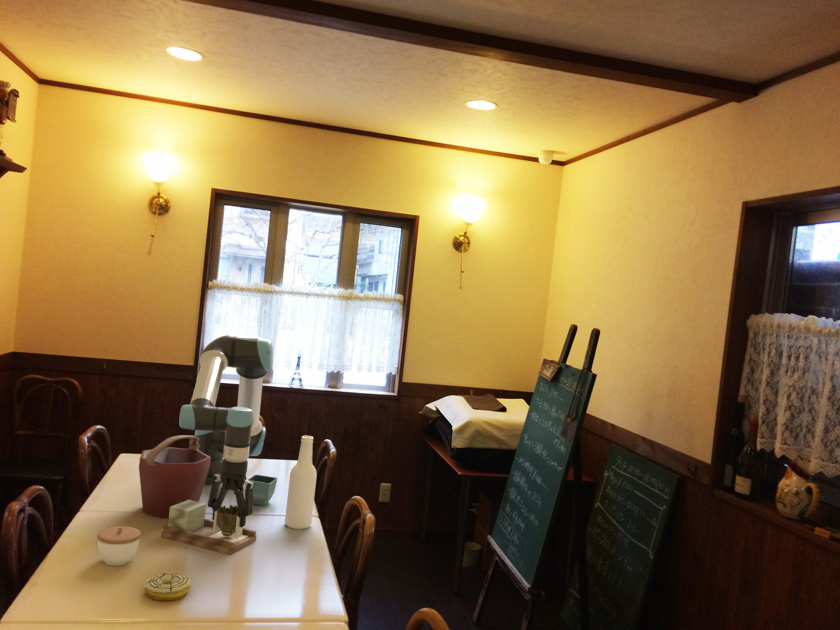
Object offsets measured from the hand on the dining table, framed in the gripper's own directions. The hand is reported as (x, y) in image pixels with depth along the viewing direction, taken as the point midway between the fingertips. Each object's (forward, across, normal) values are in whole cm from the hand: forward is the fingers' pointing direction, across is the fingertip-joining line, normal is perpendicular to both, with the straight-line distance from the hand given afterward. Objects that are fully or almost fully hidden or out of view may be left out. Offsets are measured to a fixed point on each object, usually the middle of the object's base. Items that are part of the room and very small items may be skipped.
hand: (227, 534), depth 203 cm
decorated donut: (+3, +7, -36) cm, 36 cm away
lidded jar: (+3, -16, -28) cm, 32 cm away
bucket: (+3, -31, +13) cm, 34 cm away
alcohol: (+3, +10, +26) cm, 28 cm away
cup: (0, 0, 0) cm, 0 cm away
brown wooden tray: (+3, -6, 0) cm, 7 cm away
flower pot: (+3, -12, +38) cm, 40 cm away
